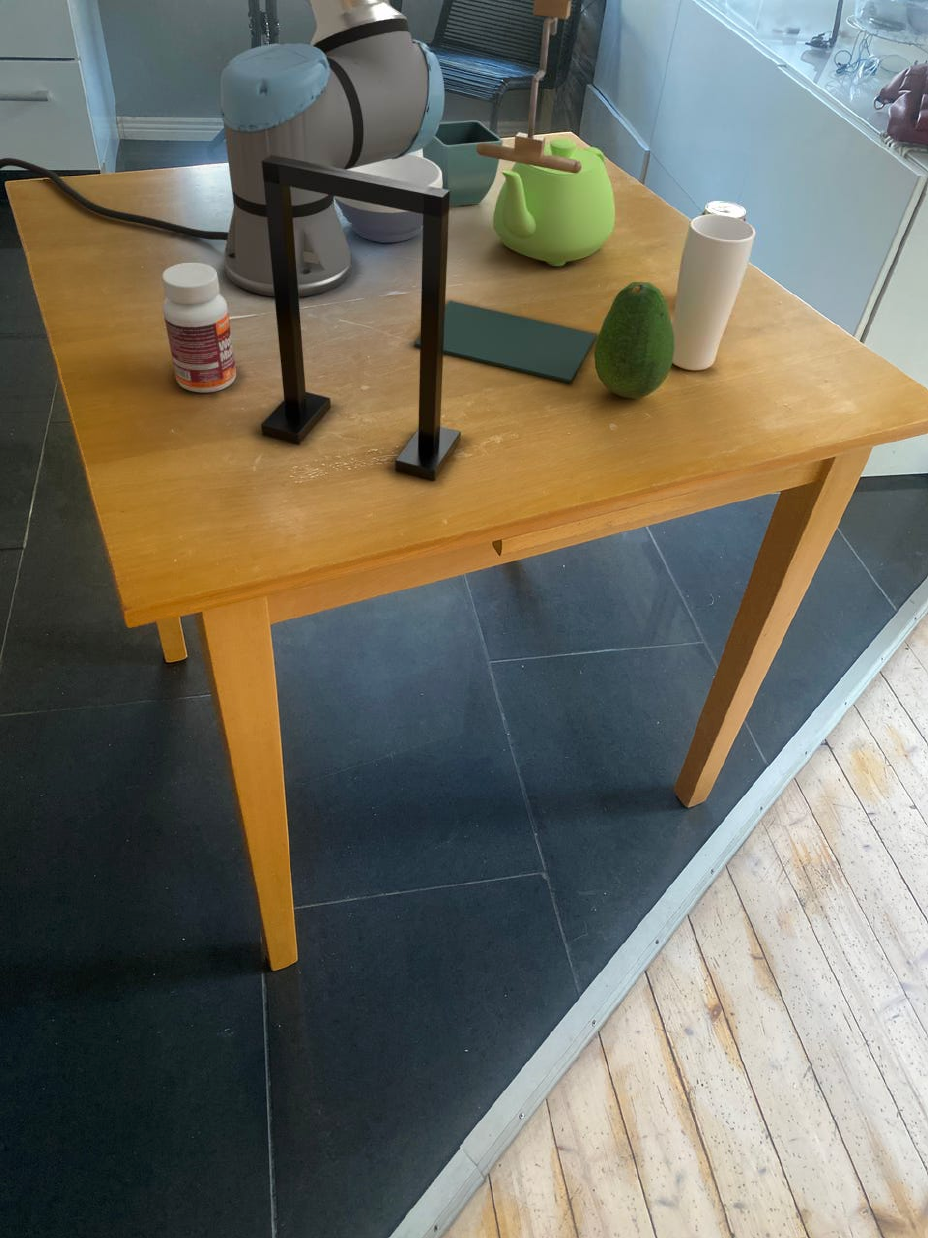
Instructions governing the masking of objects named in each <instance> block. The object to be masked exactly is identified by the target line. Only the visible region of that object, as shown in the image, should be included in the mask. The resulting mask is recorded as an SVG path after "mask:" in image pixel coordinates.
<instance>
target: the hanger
mask: <svg viewBox="0 0 928 1238" xmlns="http://www.w3.org/2000/svg"><path fill="white" fill-rule="evenodd" d="M571 8H572V1H571V0H533V9H532V10H533V11H532V14H533V15H535V16H541V17H546V18H545V19H544V21H543V27H542V40H541V48H540V49H541V51H540V62H539V70H538V72H536V74H535V75H534V76H533V77H532V78H531V90H530V98H529V99H530V101H529V112H528V124H527V133H525V132H517V133H516V135H514V146H513V147H511V146H505V145H502V146H500V145H495V144H490V143H484V142H481V143H479V144H478V145H477V153H478V154H479V155H481V156H486V157H491V158H496V159H499V160H503V161H506V162H513V163H516V162H517V163H522V164H528V165H533V166H538V167H543V168H549V169H554V170H559V171H564V172H569V173H578V172H580V170H581V168H582V165H581V162H580V161H578V160H575V159H569V158H564V157H559V156H553V155H548V154H544V148H545V145H546V137H545V136H541V135H535V124H536V116H537V115H536V113H537V103H538V101H537V100H538V91H539V82H540V81H541V80H542V79H543V78H544V76H545V75H546V73H547V64H548V55H549V45H550V44H549V43H550V35H551V36H555V35H556V34H557V30H558V21H559V19H561V20H567V19H569V17H570V15H571Z"/></svg>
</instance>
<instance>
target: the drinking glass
mask: <svg viewBox="0 0 928 1238" xmlns="http://www.w3.org/2000/svg"><path fill="white" fill-rule="evenodd" d="M755 237H756V230H755V228H754V226H752V225H751V224H750V223H749V222H747V221H746V222H745V221H743V220H741V219H738V218H735V217H731V216H726V215H718V214H708V215H702V214H701V215H698V216H696V217H694V218H693V219H692V220H691V221H690V222H689V225H688V229H687V233H686V236H685V240H684V245H683V249H682V254H681V258H680V263H679V271H678V279H677V287H676V293H675V300H674V301H675V302H674V307H673V308H674V310H673V316H672V322H671V323H672V328H673V333H674V345H675V349H674V356H673V362H672V364H673V365H675V366H676V367H678V368H681V369H684V370H687V371H703V370H706V369H708V368H710V367H712V366H713V364H714V363H715V361H716V359H717V355H718V351H719V347H720V344H721V341H722V338H723V336H724V333H725V331H726V327H727V325H728V322H729V319H730V316H731V314H732V311H733V308H734V305H735V303H736V300H737V297H738V296H739V293H740V292H739V291H740V290H741V287H742V284H743V281H744V278H745V276H746V273H747V270H748V266H749V263H750V259H751V255H752V251H753V247H754V242H755Z"/></svg>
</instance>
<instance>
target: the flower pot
mask: <svg viewBox="0 0 928 1238" xmlns="http://www.w3.org/2000/svg"><path fill="white" fill-rule="evenodd" d="M481 142H484V143H490V144H495V145H500V146H503V143H504V140H503V139H502V138H501V137H499V135H497V134H495V132H493V131H492V130H491V129H489V128H488V127H486V126H485V124H483V122H481V121H479V120H476V119H473V120H461V121H447V122H446V121H445V122H439V128H438V130H437V132H436V134H435V136H434V137H433V139H432V140H431V141H430V143H429V144H428V145H426V146H425V147H424V148H422V149H421V150H422V157H423V158H426V159H428V160H430V161H432V162H434V163H435V164H436V165H437V166H438V167H439V168H440V170H441V171H442V183H443V184H442V189H446V190H450V200H449V207H458V206H459V207H460V206H468V205H478V204H481V202H482V201H484V199H485V198H486V197H487V195H488V194H489V192H490V191H491V188H492V186H493V185H494V182H495V179H496V177H497V172H498V169H499V163H500V159H496V158H491V157H486V156H481V155H479V154H478V153H477V145H478V144H479V143H481Z"/></svg>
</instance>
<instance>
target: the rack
mask: <svg viewBox="0 0 928 1238" xmlns="http://www.w3.org/2000/svg"><path fill="white" fill-rule="evenodd" d="M262 171H263V181H264V190H265V201H266V212H267V222H268V233H269V243H270V254H271V264H272V275H273V286H274V296H273V297H274V306H275V315H276V326H277V336H278V349H279V359H280V369H281V378H282V379H281V381H282V391H283V398H284V399H283V400H282V402H281V403H280V404H279V405H278V406H277V407H276V408H275V409H274V410H273V411H272V412H271V413H270V414H269V415H268V416H267V417H266V419H265V420H264V421H262V423H261V424H260V429H261V436H265V437H268V438H269V437H270V438H273V439H276V440H280V441H284V442H287V443H291V444H296V445H301V443H302V442H303V441H304V440H305V438H306V437H307V436H308V435H309V434H310V433H311V432H312V430H313V429H314V428H315V427H316V426H317V425H318V424H319V422H320V421H321V420H322V419H323V418H324V417H325V416H326V415H327V413H329V411H330V410H331V408H332V405H331V397H328V396H324V395H320V394H317V393H312V392H308V391H306V378H305V365H304V351H303V337H302V325H301V311H300V297H299V296H298V283H297V269H296V256H295V243H294V229H293V216H292V203H291V190H290V187H294V188H299V189H304V190H309V191H313V192H318V193H323V194H328V195H333V196H338V197H343V198H347V199H352V200H357V201H362V202H367V203H372V204H376V205H381V206H386V207H391V208H396V209H401V210H405V211H410V212H415V213H420V214H423V225H422V245H421V247H422V252H421V292H420V293H421V294H420V297H421V298H420V335H419V338H420V347H419V381H418V383H419V385H418V386H419V389H418V428H417V430H416V431H415V432H414V434H413V435H412V437H411V438H410V439H409V440H408V442H407V443H406V445H405V446H404V447H403V448H402V451H400V453H399V455H398V456H397V457H396V458H395V460H394V469H395V470H394V471H396V472H399V473H403V474H407V475H410V476H414V477H417V478H418V477H419V478H422V479H425V480H429V481H433V482H435V481H436V479H437V478H438V476H439V475H440V474H441V472H442V470H443V469H444V467H445V466H446V464H447V463H448V461H449V459H450V458H451V456H452V455H453V453H454V452H455V450H456V449H457V447H458V446H459V445H460V443H461V440H462V439H461V436H462V432H461V431H460V430H457V429H452V428H448V427H444V426H441V416H442V415H441V413H442V393H443V369H444V353H443V345H444V321H445V307H446V296H447V294H446V293H447V272H448V271H447V270H448V269H447V268H448V247H449V225H450V224H449V222H450V221H449V220H450V206H449V200H450V190H446V189H441V188H436V187H431V186H426V185H421V184H416V183H411V182H406V181H401V180H396V179H391V178H386V177H381V176H376V175H371V174H366V173H361V172H356V171H351V170H346V169H341V168H336V167H331V166H326V165H320V164H315V163H310V162H305V161H300V160H295V159H290V158H285V157H280V156H275V155H270V156H268V157H267V158H265V159H264V160H262Z"/></svg>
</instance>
